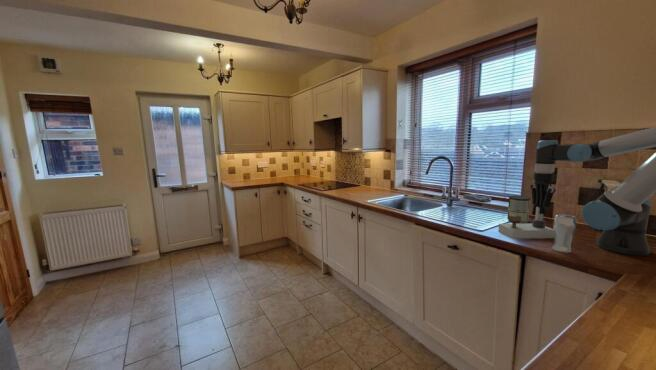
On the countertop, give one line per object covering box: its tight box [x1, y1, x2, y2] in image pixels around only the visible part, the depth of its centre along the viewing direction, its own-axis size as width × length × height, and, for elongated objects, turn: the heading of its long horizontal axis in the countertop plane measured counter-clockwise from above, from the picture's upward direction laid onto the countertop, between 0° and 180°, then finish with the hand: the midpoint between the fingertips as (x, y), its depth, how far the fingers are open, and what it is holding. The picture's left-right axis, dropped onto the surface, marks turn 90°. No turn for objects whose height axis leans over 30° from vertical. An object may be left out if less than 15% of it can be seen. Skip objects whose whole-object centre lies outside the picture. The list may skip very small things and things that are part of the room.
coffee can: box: [507, 195, 532, 224], centre depth 156 cm, size 10×10×14 cm
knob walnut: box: [507, 215, 522, 228], centre depth 131 cm, size 5×5×6 cm
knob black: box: [531, 218, 546, 228], centre depth 131 cm, size 5×5×6 cm
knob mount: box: [498, 222, 554, 239], centre depth 132 cm, size 11×20×4 cm, turn 89°
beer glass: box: [551, 213, 577, 254], centre depth 111 cm, size 7×7×15 cm
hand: (538, 219), depth 131 cm, fingers closed
